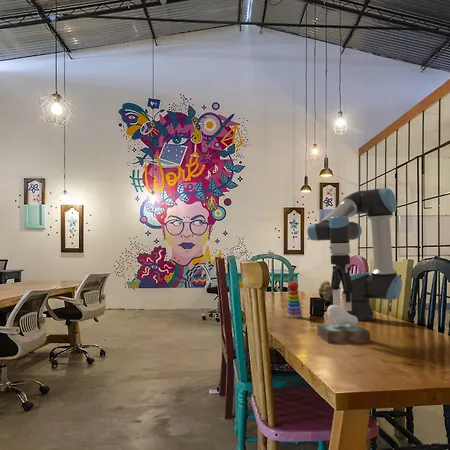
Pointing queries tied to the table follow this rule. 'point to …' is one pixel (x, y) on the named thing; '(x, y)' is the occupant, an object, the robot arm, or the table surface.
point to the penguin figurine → (340, 316)
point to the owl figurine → (326, 293)
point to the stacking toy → (294, 301)
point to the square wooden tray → (343, 333)
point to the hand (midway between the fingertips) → (342, 308)
